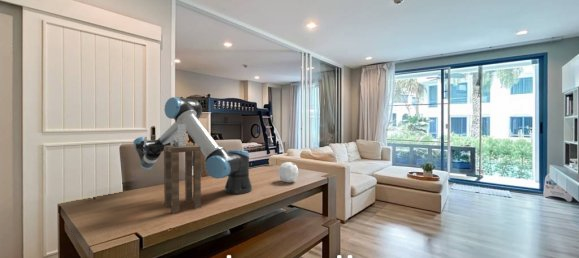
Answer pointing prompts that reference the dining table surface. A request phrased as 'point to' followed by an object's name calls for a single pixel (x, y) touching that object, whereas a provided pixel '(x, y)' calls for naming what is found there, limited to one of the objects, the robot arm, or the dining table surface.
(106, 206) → the dining table surface
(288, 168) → the geodesic sphere
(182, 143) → the shelf bracket
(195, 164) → the plant stand
